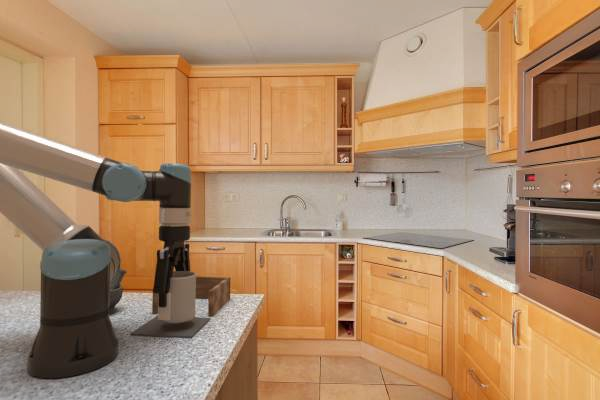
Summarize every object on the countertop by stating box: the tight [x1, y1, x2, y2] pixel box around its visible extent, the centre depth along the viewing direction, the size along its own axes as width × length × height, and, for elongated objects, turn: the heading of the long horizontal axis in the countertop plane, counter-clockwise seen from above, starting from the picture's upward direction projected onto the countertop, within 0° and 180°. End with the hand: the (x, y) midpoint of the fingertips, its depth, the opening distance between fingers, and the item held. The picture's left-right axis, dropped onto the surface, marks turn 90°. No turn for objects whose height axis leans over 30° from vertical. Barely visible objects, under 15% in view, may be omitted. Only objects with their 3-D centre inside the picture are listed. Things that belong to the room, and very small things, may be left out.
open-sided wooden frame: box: [151, 275, 231, 317], centre depth 107 cm, size 18×17×7 cm
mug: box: [161, 270, 197, 323], centre depth 89 cm, size 12×8×11 cm
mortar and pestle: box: [109, 267, 127, 315], centre depth 100 cm, size 11×9×12 cm
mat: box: [129, 315, 211, 339], centre depth 89 cm, size 13×15×1 cm
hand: (173, 313), depth 89 cm, fingers closed on mug, 9 cm apart
